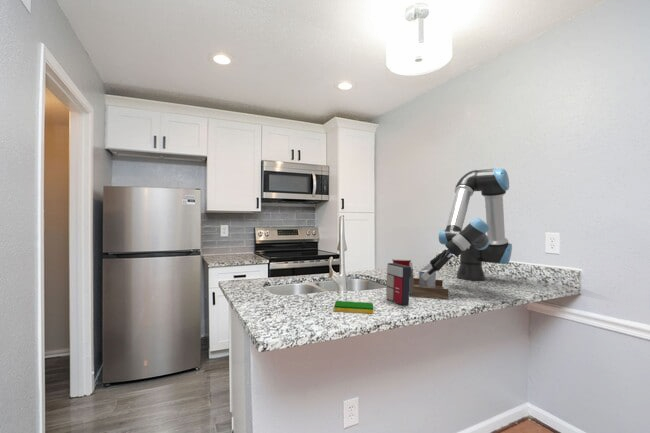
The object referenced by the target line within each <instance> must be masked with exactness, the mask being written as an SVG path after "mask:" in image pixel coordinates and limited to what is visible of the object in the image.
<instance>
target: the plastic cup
mask: <svg viewBox="0 0 650 433" xmlns="http://www.w3.org/2000/svg"><path fill="white" fill-rule="evenodd" d="M391 260H392V263H397V264H401V265H405V266H409V262H411V261H412V259H406V258H391ZM411 263H412V262H411Z"/></svg>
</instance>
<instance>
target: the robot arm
mask: <svg viewBox="0 0 650 433" xmlns="http://www.w3.org/2000/svg"><path fill="white" fill-rule="evenodd" d="M509 189H510V180H509V175H508V171H507V170H506V169H505V168H486V169H478V170H477V169H474V170H471V171H468V172H467V173H465V174H463V176H461V177H460V178H459V180H458V182H457V183H456V184H455V188H454V194H455V195H454V199H453V201H452V205H451V208H450V209H451V210H450V212H449V215H448V220H447V224H446V227H445V229H441V230H440V231H439V233H438V241H439V244H441V245H444V246H445V248H447V249H444V250H442V251H441V252H440V253H439V254H438V255H436V256H435V257H434V258H432V259H431V260H430V262H428V263H427V264H426V265H425V266H424V267H423V268H422V269H420V271H424V270H427V271H426V272H425V273H424V274H423V275H421V277H422V278H423V279H424V280H425V281H426V280H427V279H428V278H429V277H430V276H432V275H433V274H434V273H435V272H436V273H437V272H438V271H440V270H441V269H442V268H443V267H444V266H445V265H446V264H447V263H448V262H449V261H450V260H451V259H452V258H453V257H456V258H457V257H459V260H460V261H459V266H458V270H457V271H456V278H458V279H459V280H466V281H476V282H477V281H479V282H480V281H485V280H486V276H485V273H484V270H483V266H482V265H483V263H488V264H489V263H491V264H498V265H501V264H502V265H507V264H509V262H510V260H511V256H512V251H513V245H512V244H513V243H509V239H508V238H506V236H505V235H506V234H505V232H506V231H505V214H504V199H503V198H504V195H506V193H507V191H509ZM475 192H480V193H481V196H482V197H484V203H485V206H484V207H485V221H486V222H485V221H484V220H482V219H481V218H480V217H476V218H474V219H472V221H470V222H469V223H468V224H467V225H466V226H465V227H464V226H463V225H464V223H465V220H466V215H467V212H468V207H469V203H470V200H471V197H472V196H473V194H474V193H475Z"/></svg>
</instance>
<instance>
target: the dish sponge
mask: <svg viewBox="0 0 650 433" xmlns="http://www.w3.org/2000/svg"><path fill="white" fill-rule="evenodd" d="M333 311H334V312H339V313H356V314H370V315H373V314H374V303H373V302H361V301H347V300H346V301H344V300H343V301H342V300H336V301H335V303H334V306H333Z"/></svg>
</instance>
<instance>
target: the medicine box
mask: <svg viewBox="0 0 650 433" xmlns="http://www.w3.org/2000/svg"><path fill="white" fill-rule="evenodd" d="M426 271H427V270H424V271H421V270H419V271H418V272H419V275H418V277H419V287H431V288H435V282H436V280H437V279H436V278H437V275H436V274H437V271H436V272H435V273H434V274H433V275H432V276H430V277H429V278H428V279H427V280H426V281H425V280H424V279H423V278H422V277H421V275H423V274H424V273H425V272H426Z"/></svg>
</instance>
